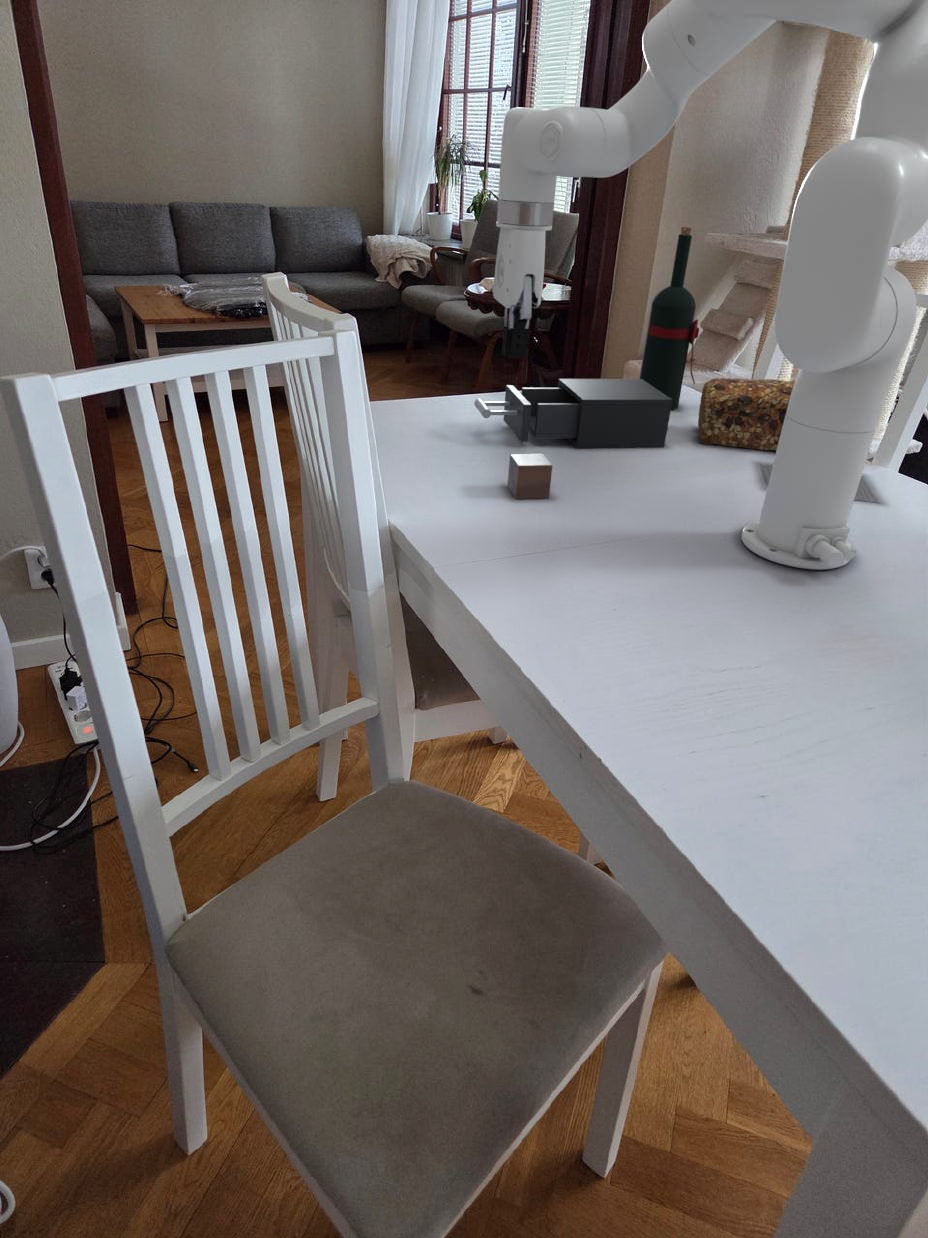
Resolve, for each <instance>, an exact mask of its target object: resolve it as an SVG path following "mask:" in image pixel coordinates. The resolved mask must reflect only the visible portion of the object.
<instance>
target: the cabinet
mask: <svg viewBox="0 0 928 1238" xmlns="http://www.w3.org/2000/svg"><path fill="white" fill-rule="evenodd" d="M557 388H564V389H565V390H566V391H567V392H568V393H570V394H571V395H572V396H573V397H574V398H575V399H576V400H578V401H579V402H580V403H581V406H580V414H579V422H578V430H577V438H567V440H568V441H569V442H570V443H571V444H572V445H573V446H574V447H575V448H576V449H615V448H616V449H624V448H626V449H627V448H628V449H629V448H631V449H632V448H665V446H666V445H665V444H666V439H667V433H668V428H669V421H670V416H671V411H672V410H671V406H672V405H671V404H672V399H671V398H669V397H668V396H666V395H665V394H663V393H662V392H660V391H659V390H657V389H656V388H654V387H653V386H651V385H650V384H648V383H647V382H645V381H644V380H642V379H639V378H558V383H557Z"/></svg>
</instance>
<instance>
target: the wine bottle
mask: <svg viewBox="0 0 928 1238" xmlns="http://www.w3.org/2000/svg"><path fill="white" fill-rule="evenodd" d="M692 229H693V226H684V225H682V226H681V227H680V233H679V234H678V237H677V241H676V242H677V243H676V250H675V255H674V260H673V266H672V274H671V279H670V285H669V286H666V287H664V288H662V289H661V290H660V291H658V292H657V293H656V294H655V295H654V297H653V298H652V300H651V304H650V309H649V317H648V322H647V329H646V335H645V341H644V347H643V351H642V352H643V353H642V358H641V364H640V371H639V377H638V379H642V380H644V381H645V382H647V383H648V384H650V385H651V386H653V387H654V388H656V389H657V390H659V391H660V392H662V393H663V394H665V395H666V396H668V397H669V398H671V399H672V404H671V405H672V406H671V411H675V410H677V409H679V404H680V398H681V393H682V388H683V382H684V375H685V370H686V365H687V359H688V353H689V347H690V345H691V359H690V376H691V379H692V383H693V385H694V386H693V387H695V386H696V385H695V384H696V381H695V379H694V374H693V359H694V345H695V344H694V343H695V339H698V338H699V333H700V327H698V325H699V319H698V318H697V319H695V320H694V318H695V313H696V307H697V305H696V301H695V298H694V296H693V294H692V293H691V292H690V291H689V290H688V289H687V288H686V287H684V285H685V278H686V272H687V268H688V261H689V255H690V250H691V245H692V239H693V235H692V234H691V232H692Z"/></svg>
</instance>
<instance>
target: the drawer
mask: <svg viewBox="0 0 928 1238" xmlns="http://www.w3.org/2000/svg"><path fill="white" fill-rule="evenodd" d="M504 394H505V396H504V401H484V400H482V399H481V398H477V399H475V400H474V403H473V404H474V406H475V408H476V409H477V411H478V412H479V413H480V415H481V416H482V417H483V418H484V419H488V418H490V417H491V416H503V422H504V423H505V424H506V425H507V427H508V428H509V429H510V430H511V432H512V434H513V435H514V436H515V437H516V438H517V440H518V441H519V442H520V443H528V442H529V436H530V434H531V435H532V437H533V438H534V439H536V440H540V439H543V440H545V439H549V440H550V439H568V438H577V430H578V422H579V414H580V406H581V403H580V402H579V401H578V400H576V399H575V398H574V397H573V396H572V395H571V394H570V393H568V392H567V391H566V390H565V389H564V388H558V387H521V392H520V391H519V390H518V389H517V388H516V386H515V385H513V384H506V385H505V393H504ZM489 407H503V410H490V408H489Z"/></svg>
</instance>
